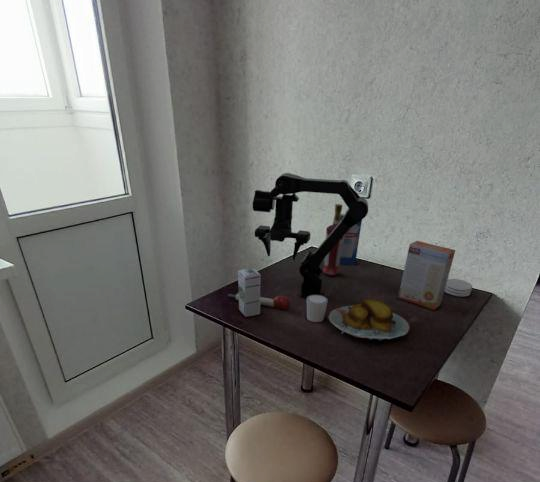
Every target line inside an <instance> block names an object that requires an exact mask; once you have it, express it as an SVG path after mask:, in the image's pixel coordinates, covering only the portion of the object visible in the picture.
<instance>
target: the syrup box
mask: <svg viewBox="0 0 540 482" xmlns="http://www.w3.org/2000/svg"><path fill="white" fill-rule="evenodd" d="M237 275H238V276H237V283H238V285H237V287H238V289H237V290H238V293H239V301H238V311H239V312H240V313H241V314H242V315H243V316H244V317H245V318H247V317H253V316H258V315H260V314H261V305H260V297H261V280H262V279H261V276H262V275H261V273H260V272H259V271H258V270H256V269H255V268H253V267H252V268H249V267H248V268H242V269H239V270H237Z"/></svg>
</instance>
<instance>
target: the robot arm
mask: <svg viewBox="0 0 540 482" xmlns="http://www.w3.org/2000/svg"><path fill="white" fill-rule="evenodd" d="M304 192H305V193H319V194H331V195H339V197H341V199H342V201H343V202H344V204H345V205H346V207H347V209H346V211H345V213H344V214H345V215H344V217H343V219H342V220H341V221H340V222H339V224H338V225H337V226H336V227H335V228H334V230H333V231H332V232H331V233H330V234H329V235H328V237H327V238H326V237H325V238H324V240H323V241H322V242H321V243H320V245H319V246H318V247H317V248H316V249H315V250H314V251H311V250H310V249H309V250H308V251H307V254H306V255H305V256H303V257H302V259H301V261H300V263H299V265H300V266H299V274H300V276H301V277H302V278H303V281H302V282H301V290H300V293H301V295H300V297H301V298H304V299H307V297H308V296H310V295H321V296H322V293H323V292H322V286H323V279H322V276H323V274H324V272H323V269H322V268H321V267H320V266H321V264H322V262H324V261H323V260H325V257H326V255H327V254H328V253H329V252H330V251H331V250H332V248H333V247H334V246H335V245H336V244H337V243H338V242H339V240H340V239H341V238H342V237H343V236H344V235H345V233H346V232H347V231H348V230H349V229H350V228H351V227H353V226H354V225H356V224H357V223H358V222H360V221H361V220H362V221H363V220H364V219H365V218H366V217H367V216H368V213H369V201H368V200H367V199H366V198H365V197H361V196H360V194H358V192H357V191H356V190H355V189H354V188H353V187H352V186H351V184H350V183H349V182H348V180H346V179H339V180H338V179H324V178H308V177H304V176H300V175H297V174H294V173H290V172H285V173H282V174H281V175H280V176H278V177H277V178H276V180H275V182H274V187H273V188H272V189H271V190H270V191H268V190H267V191H266V190H261V189H256V190H255V191H254V195H253V199H252V210H253V212H261V213H271V212H272V211H273V210H274V211H275V212H274V214H275V215H274V218H273V223H272V225H271V226H269V225H261V224H260V225H259V226H258V227H256V228H255V230H254V238H258V240H259V241H261V242H262V243H263V246H264V248H265V251H266V255H267V257H270V256H271V247H272V245H271V244H272V242H276V241H277V242H279V243H282V242H284V241H285V239H295V242H294V247H293V252H292V253H293V254H292V261H295V259H296V257H297V255H298V253H299V250H300V248H301V246H304V245H305V244H308V243H309V241H310V240H311V235H312V234H311V232H310V231H309V230H298V231H297V232H292V229H293V228H292V221H293V209H294V208H293V207H294V203H297V202H298V201H299V200H300V197H299V196H298V195H297V194H298V193H304ZM280 195H282V196H280Z"/></svg>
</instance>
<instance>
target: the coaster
mask: <svg viewBox="0 0 540 482" xmlns="http://www.w3.org/2000/svg"><path fill="white" fill-rule="evenodd" d="M472 289H473V284H471V283H470V282H468V281H466V280H464V279H458V278H448V279H447V283H446V287H445V290H444V293H446V294H448V295H450V296H453V297H458V298H466V297H468V296H470V295H471V294H472V293H471V292H472Z"/></svg>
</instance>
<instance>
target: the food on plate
mask: <svg viewBox="0 0 540 482" xmlns="http://www.w3.org/2000/svg"><path fill="white" fill-rule="evenodd" d="M327 321H329V322H330V324H332V326H334V327H335V328H336V329H338V330H339V331H341V335H343V334H344V333H346V334H347V335H350V336H353V337H354V338H358V339H360V338H361V339H368V340H369V341H370V340H371V341H373V340H374V339H375V340H378V341H384V340H392V339H394V338H395V339H396V338H399V337H404V336H406V335H408V334H409V332H410V331H411V326H410V323H409V321H407V319H405V318H404V317H402V316H400V315H398V314H396V313H394V312H393V310H392V308H391V307H390V306H389V305H388V304H387V303H385V302H383V301H381V300H380V299H379V300H378V299H374V298H364V299H363V300H362V302H359V303H356V304H352V305H346V306H342V307H338V308H335V309H332V310H331V311H329V314H328V315H327Z"/></svg>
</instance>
